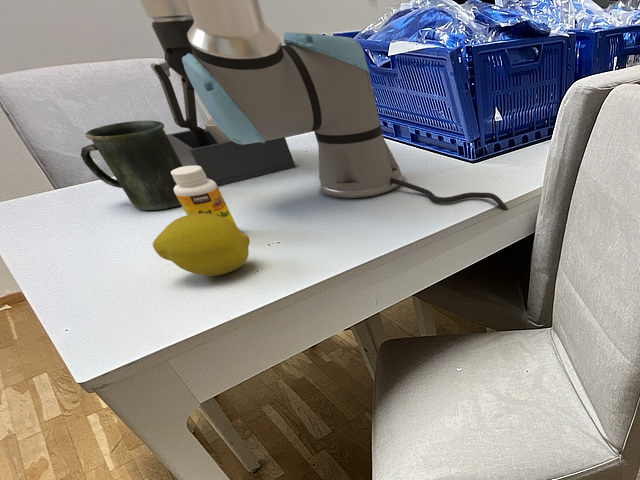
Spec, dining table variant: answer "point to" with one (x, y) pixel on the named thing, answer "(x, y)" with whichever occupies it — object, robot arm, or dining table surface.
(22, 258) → the dining table surface
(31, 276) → the dining table surface
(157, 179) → the mug
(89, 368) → the dining table surface
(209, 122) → the cup
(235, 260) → the lemon
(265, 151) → the bin
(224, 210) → the supplement bottle
